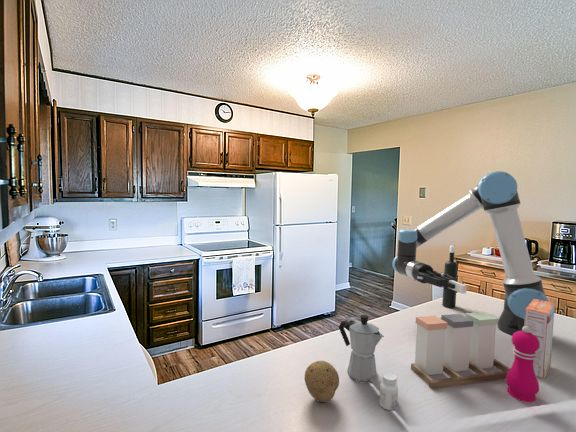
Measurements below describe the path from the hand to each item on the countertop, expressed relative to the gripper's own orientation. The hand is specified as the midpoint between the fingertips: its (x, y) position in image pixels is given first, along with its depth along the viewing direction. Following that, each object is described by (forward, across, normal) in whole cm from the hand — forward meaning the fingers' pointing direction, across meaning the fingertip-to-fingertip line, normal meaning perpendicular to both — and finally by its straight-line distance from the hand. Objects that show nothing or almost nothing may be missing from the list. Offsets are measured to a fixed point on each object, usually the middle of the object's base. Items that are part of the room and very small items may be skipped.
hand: (464, 289), depth 108 cm
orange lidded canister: (+8, +18, -22) cm, 29 cm away
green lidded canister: (+8, 0, -22) cm, 23 cm away
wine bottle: (-44, -32, -23) cm, 59 cm away
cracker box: (+12, -17, -23) cm, 31 cm away
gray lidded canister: (+8, +9, -22) cm, 25 cm away
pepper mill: (+23, +1, -23) cm, 33 cm away
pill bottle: (+18, +37, -23) cm, 48 cm away
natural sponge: (+13, +53, -23) cm, 60 cm away
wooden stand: (+10, +9, -23) cm, 26 cm away
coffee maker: (+3, +38, -23) cm, 45 cm away
